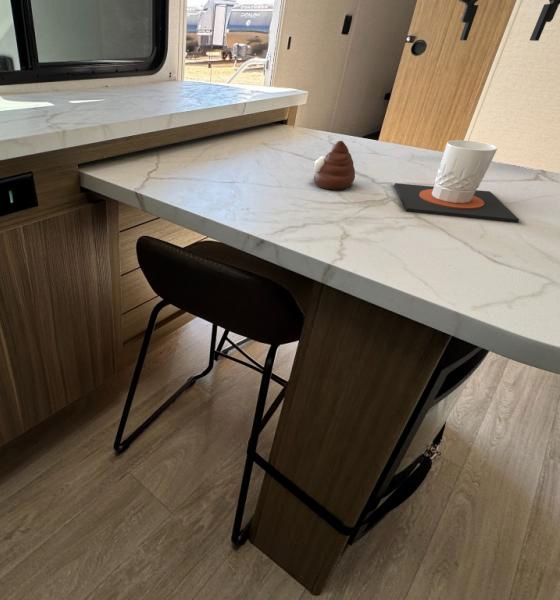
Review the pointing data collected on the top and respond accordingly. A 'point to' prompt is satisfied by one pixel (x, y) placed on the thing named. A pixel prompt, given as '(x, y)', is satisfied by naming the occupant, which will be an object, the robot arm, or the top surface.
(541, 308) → the top surface
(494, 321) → the top surface
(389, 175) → the top surface
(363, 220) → the top surface
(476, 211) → the placemat
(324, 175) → the poop emoji
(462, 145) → the white cup
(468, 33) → the robot arm
